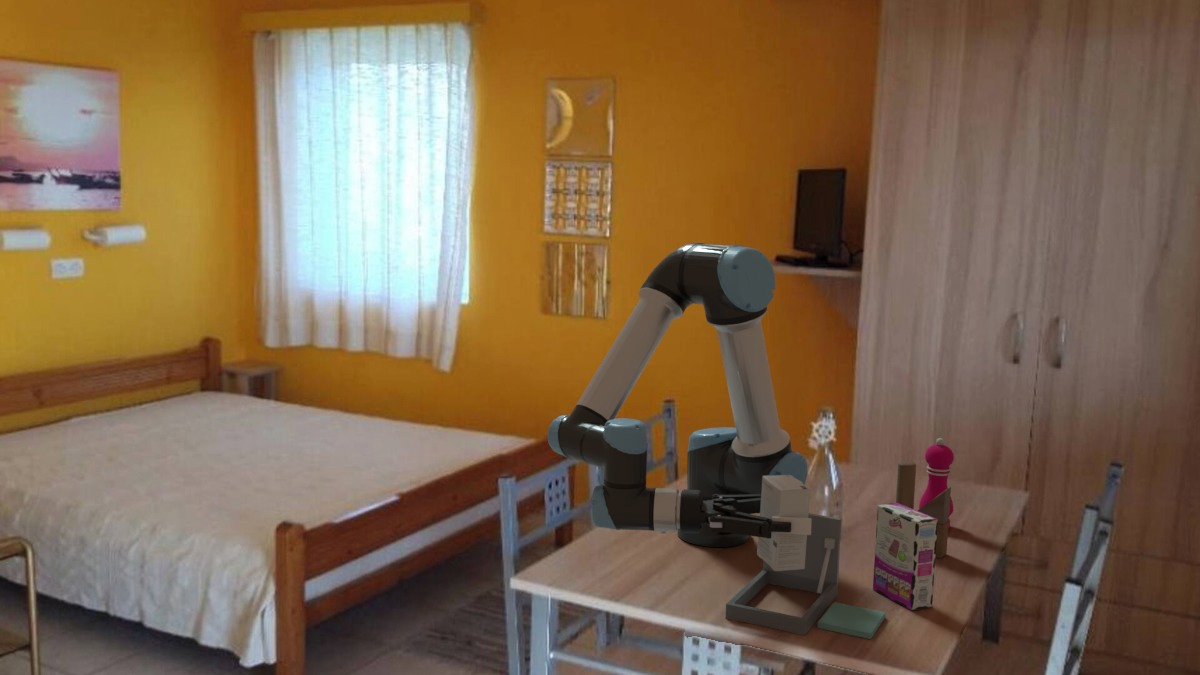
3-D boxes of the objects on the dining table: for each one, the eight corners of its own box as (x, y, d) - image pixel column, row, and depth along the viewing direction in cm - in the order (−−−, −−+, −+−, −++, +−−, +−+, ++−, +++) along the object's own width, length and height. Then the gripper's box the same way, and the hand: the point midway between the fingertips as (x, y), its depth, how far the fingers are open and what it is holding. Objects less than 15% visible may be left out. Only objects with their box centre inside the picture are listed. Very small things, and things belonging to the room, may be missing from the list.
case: (725, 617, 182) (728, 536, 180) (764, 580, 199) (767, 506, 197) (804, 635, 175) (808, 551, 173) (837, 595, 193) (841, 518, 191)
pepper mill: (916, 529, 231) (921, 439, 228) (919, 519, 237) (924, 432, 234) (950, 533, 228) (956, 443, 225) (953, 523, 235) (959, 436, 232)
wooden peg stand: (940, 559, 212) (946, 472, 210) (889, 547, 219) (894, 463, 216) (947, 554, 215) (952, 468, 213) (896, 542, 222) (901, 459, 219)
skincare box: (756, 555, 187) (758, 475, 185) (787, 553, 189) (790, 472, 187) (775, 573, 179) (778, 488, 177) (808, 570, 181) (811, 486, 179)
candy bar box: (934, 607, 188) (939, 518, 185) (911, 611, 186) (917, 522, 183) (892, 585, 198) (897, 501, 195) (871, 589, 196) (876, 504, 193)
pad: (817, 627, 178) (817, 622, 178) (833, 607, 187) (834, 602, 187) (870, 639, 174) (871, 633, 174) (884, 617, 183) (885, 612, 183)
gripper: (683, 511, 197) (805, 517, 194) (675, 553, 175) (812, 560, 172) (684, 472, 196) (806, 478, 192) (675, 509, 174) (814, 516, 171)
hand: (809, 517), depth 182 cm, fingers closed on skincare box, 9 cm apart
